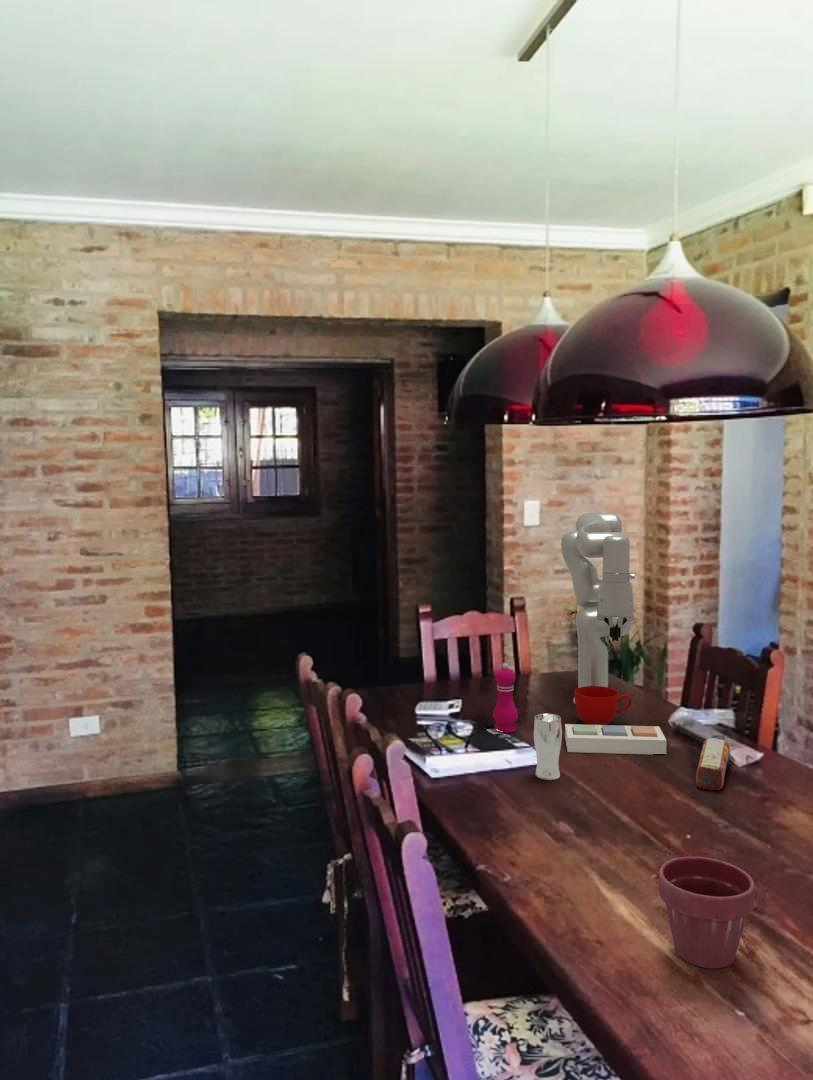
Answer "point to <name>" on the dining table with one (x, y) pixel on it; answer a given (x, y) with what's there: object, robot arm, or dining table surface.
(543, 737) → the beer glass
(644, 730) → the button terracotta
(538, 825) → the dining table surface
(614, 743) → the button panel
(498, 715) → the pepper mill
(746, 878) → the plant pot
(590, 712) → the ceramic cup
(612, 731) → the button slate
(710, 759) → the snack package
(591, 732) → the button sage
